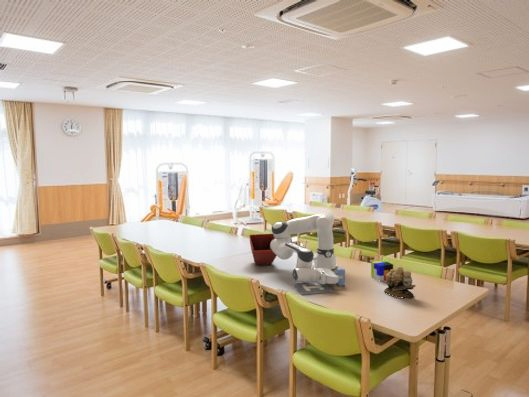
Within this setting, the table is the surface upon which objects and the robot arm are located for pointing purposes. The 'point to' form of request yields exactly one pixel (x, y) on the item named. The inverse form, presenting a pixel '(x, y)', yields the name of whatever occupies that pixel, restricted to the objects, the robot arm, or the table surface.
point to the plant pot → (262, 248)
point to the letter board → (312, 288)
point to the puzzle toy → (380, 269)
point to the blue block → (342, 272)
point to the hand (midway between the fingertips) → (340, 275)
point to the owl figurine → (399, 283)
